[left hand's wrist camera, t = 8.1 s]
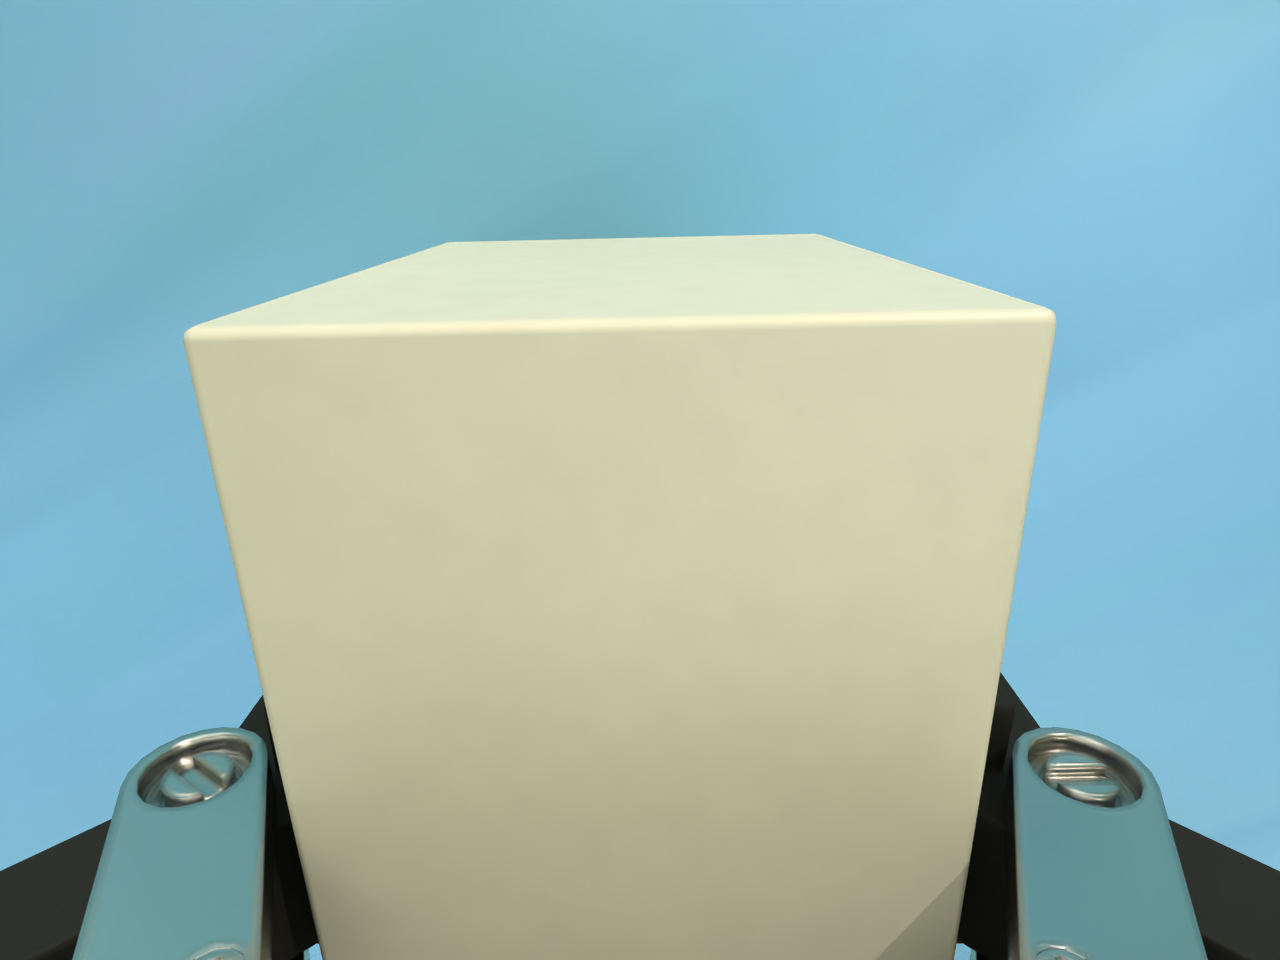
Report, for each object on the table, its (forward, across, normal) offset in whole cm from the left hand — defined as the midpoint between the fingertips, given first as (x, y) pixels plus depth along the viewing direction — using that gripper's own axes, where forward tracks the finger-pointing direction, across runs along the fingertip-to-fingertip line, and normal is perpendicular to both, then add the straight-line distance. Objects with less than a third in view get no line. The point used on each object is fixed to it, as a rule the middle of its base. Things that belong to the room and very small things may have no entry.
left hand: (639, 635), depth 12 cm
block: (+3, 0, -24) cm, 25 cm away
